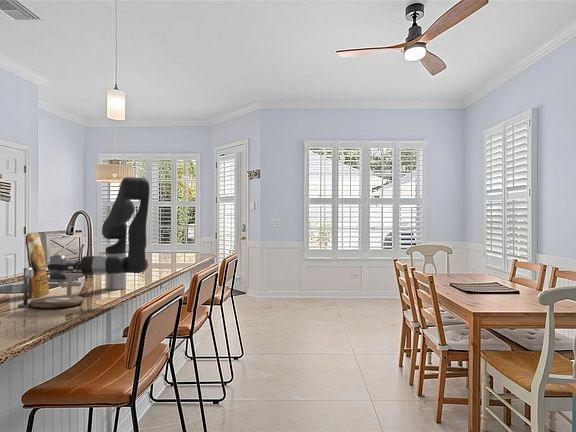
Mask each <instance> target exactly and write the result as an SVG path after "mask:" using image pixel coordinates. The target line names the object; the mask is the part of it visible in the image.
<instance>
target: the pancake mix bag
mask: <svg viewBox="0 0 576 432" xmlns="http://www.w3.org/2000/svg"><path fill="white" fill-rule="evenodd" d="M40 235H41V234H40V232H28V233H27V234H26V235H25V246H26V247H25V248H26V251H27V262H28V268H33V277H32V279H28V299H38V298H42V297H44V296H46V295H48V294H49V293H50V286H49V282H48V277H47V267H46V258H45V252H44V247H43V243H42V241H41V240H42V239H41V236H40ZM43 295H44V296H43Z"/></svg>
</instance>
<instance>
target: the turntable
mask: <svg viewBox="0 0 576 432" xmlns="http://www.w3.org/2000/svg"><path fill="white" fill-rule="evenodd" d="M84 299H85V298H84V297H83V296H80V295H71V296H67V295H52V296H45V297H44V296H43V297H38V298H33V299H32V300H30V301H29V303H30V306H31V308H38V309H58V308H65V307H66V308H67V307H72V306H76V305H80V304H82V303H84Z"/></svg>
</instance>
